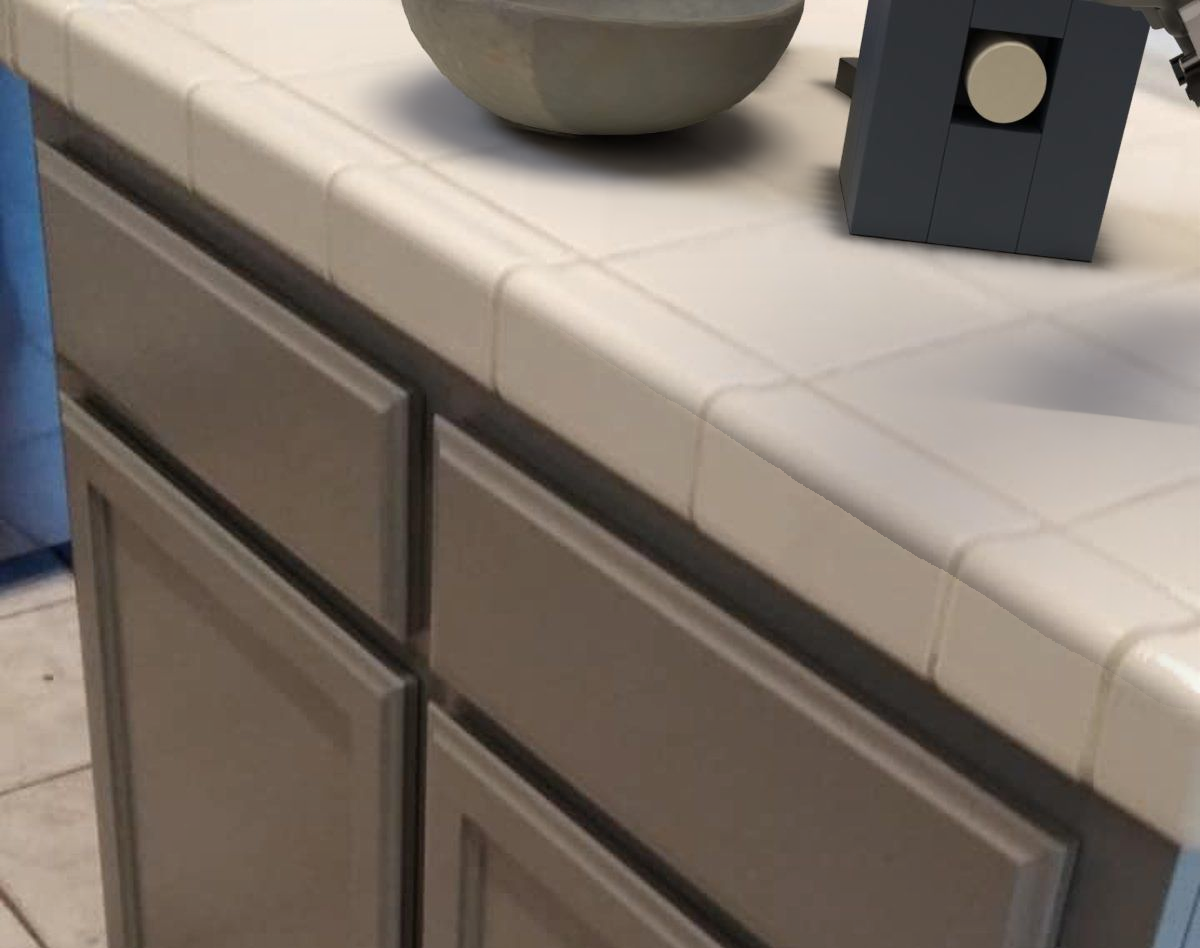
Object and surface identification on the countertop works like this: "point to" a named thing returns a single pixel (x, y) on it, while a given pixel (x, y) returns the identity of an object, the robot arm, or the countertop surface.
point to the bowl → (605, 57)
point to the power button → (1003, 75)
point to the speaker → (988, 126)
